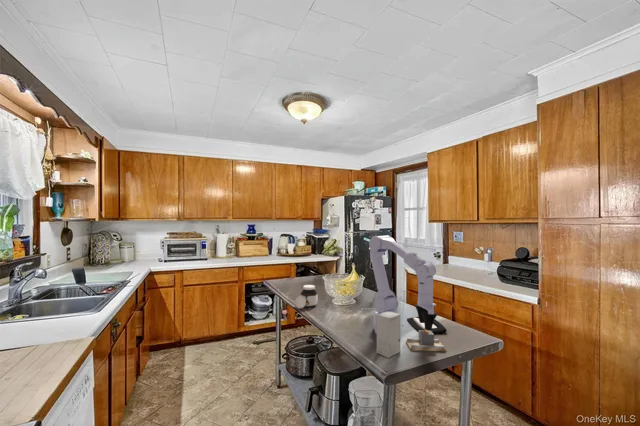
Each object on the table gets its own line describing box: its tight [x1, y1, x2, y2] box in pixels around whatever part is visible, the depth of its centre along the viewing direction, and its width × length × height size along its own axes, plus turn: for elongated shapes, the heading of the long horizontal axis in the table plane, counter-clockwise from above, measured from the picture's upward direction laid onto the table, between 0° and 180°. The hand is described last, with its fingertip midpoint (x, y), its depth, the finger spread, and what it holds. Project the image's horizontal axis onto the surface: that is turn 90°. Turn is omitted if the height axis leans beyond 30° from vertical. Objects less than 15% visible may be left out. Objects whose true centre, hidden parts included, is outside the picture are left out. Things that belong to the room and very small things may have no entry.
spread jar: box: [295, 284, 319, 309], centre depth 170 cm, size 12×11×12 cm
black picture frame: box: [406, 316, 448, 335], centre depth 141 cm, size 20×3×14 cm
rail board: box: [405, 337, 447, 352], centre depth 118 cm, size 14×7×2 cm, turn 87°
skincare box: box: [376, 311, 401, 359], centre depth 113 cm, size 8×6×15 cm
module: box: [418, 329, 435, 345], centre depth 118 cm, size 5×4×6 cm
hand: (425, 326), depth 118 cm, fingers open, 7 cm apart
